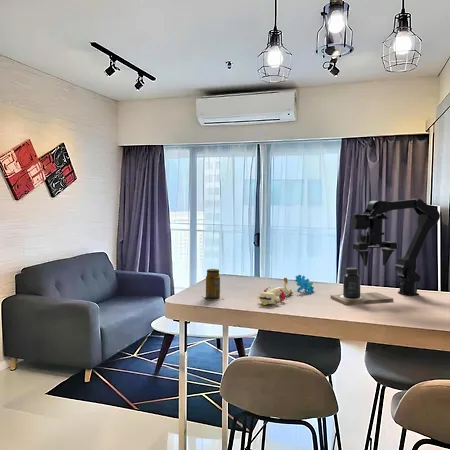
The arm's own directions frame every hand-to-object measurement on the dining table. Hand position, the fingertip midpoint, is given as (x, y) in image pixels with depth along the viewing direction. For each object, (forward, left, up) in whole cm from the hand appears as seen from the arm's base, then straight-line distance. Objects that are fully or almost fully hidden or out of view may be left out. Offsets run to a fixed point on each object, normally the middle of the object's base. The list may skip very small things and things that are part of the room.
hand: (374, 265), depth 190 cm
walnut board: (+10, +6, -13) cm, 17 cm away
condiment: (+69, -13, -13) cm, 71 cm away
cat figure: (+45, -3, -13) cm, 47 cm away
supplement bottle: (+15, +6, -12) cm, 20 cm away
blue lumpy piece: (+26, -13, -13) cm, 32 cm away
